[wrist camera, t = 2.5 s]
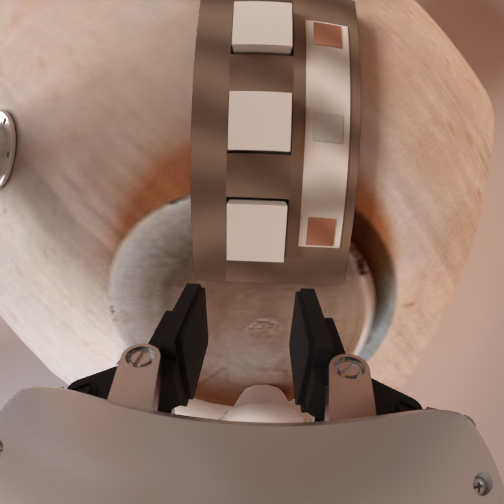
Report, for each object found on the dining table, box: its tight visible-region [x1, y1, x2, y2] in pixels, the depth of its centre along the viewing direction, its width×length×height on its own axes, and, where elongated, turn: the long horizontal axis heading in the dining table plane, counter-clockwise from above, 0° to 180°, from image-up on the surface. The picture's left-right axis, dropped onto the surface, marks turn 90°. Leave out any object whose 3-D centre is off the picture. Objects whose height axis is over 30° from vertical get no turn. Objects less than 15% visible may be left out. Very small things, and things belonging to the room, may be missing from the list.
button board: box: [191, 0, 361, 285], centre depth 23 cm, size 30×15×3 cm, turn 178°
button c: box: [232, 1, 292, 55], centre depth 18 cm, size 5×5×2 cm
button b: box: [228, 91, 292, 152], centre depth 21 cm, size 5×5×2 cm
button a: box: [227, 199, 287, 262], centre depth 24 cm, size 5×5×2 cm
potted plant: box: [220, 385, 304, 423], centre depth 25 cm, size 13×12×25 cm
